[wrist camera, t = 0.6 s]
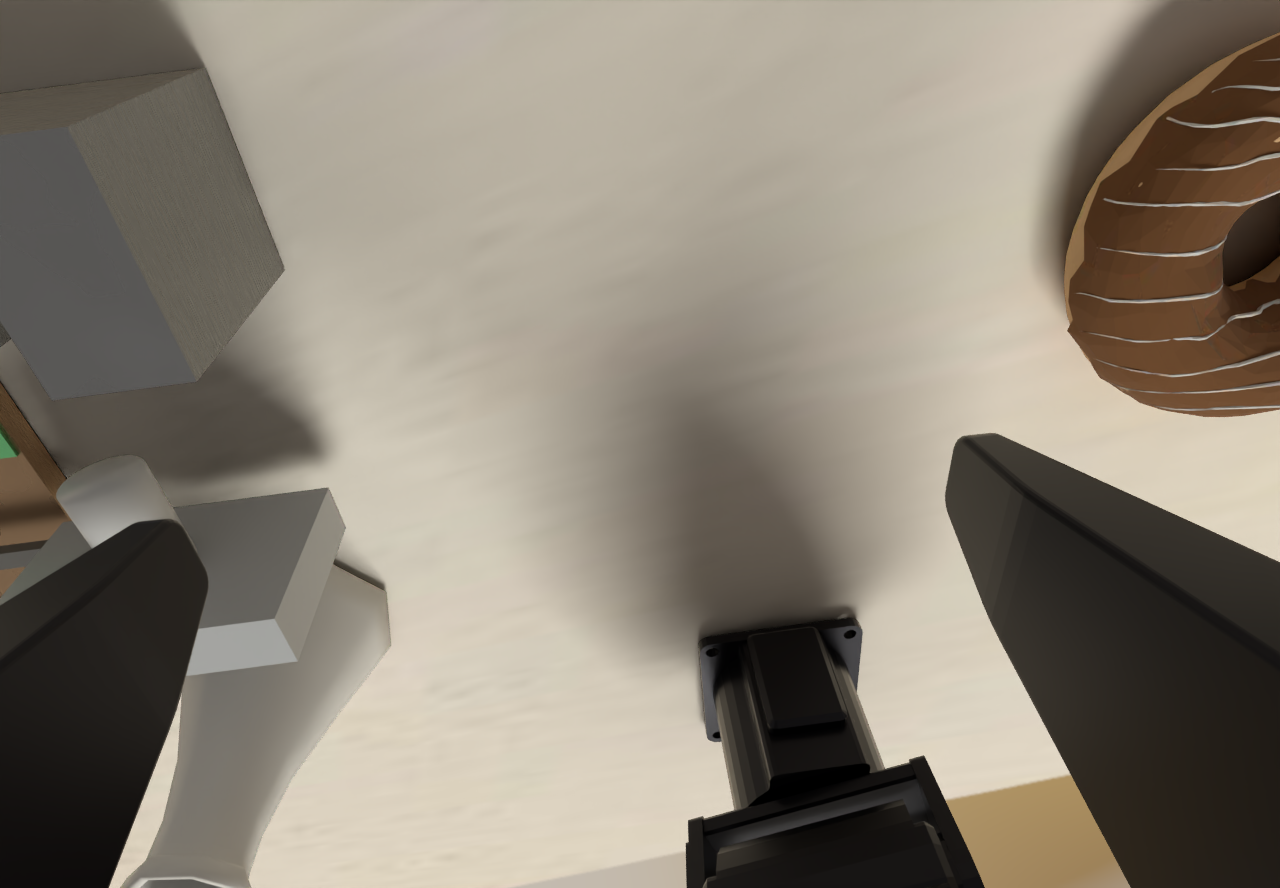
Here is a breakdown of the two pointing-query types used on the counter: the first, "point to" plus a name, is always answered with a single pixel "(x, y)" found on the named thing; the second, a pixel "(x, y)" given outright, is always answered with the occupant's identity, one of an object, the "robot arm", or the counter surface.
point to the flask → (259, 740)
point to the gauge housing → (116, 255)
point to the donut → (1184, 248)
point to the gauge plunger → (207, 557)
